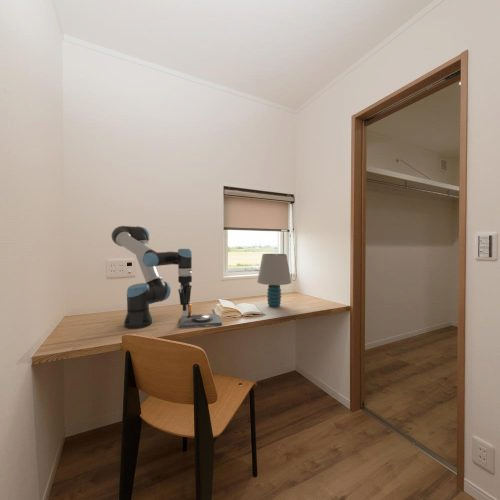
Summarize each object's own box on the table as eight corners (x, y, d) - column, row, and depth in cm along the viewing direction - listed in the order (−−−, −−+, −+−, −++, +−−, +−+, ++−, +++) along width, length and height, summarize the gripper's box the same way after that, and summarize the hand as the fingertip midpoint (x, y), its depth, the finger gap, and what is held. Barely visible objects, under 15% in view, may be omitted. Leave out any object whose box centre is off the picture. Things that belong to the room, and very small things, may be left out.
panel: (179, 328, 141) (179, 325, 141) (181, 317, 160) (181, 315, 160) (221, 325, 146) (221, 322, 146) (218, 315, 165) (218, 312, 165)
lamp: (282, 312, 172) (283, 255, 170) (251, 307, 185) (251, 254, 183) (296, 304, 193) (296, 254, 192) (267, 300, 207) (267, 253, 205)
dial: (210, 315, 158) (210, 301, 158) (211, 320, 148) (211, 305, 148) (186, 317, 155) (186, 302, 155) (186, 322, 145) (186, 306, 145)
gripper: (186, 277, 138) (186, 319, 139) (195, 274, 151) (195, 312, 151) (173, 276, 139) (174, 318, 140) (184, 273, 152) (184, 312, 153)
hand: (185, 315), depth 146 cm, fingers closed
